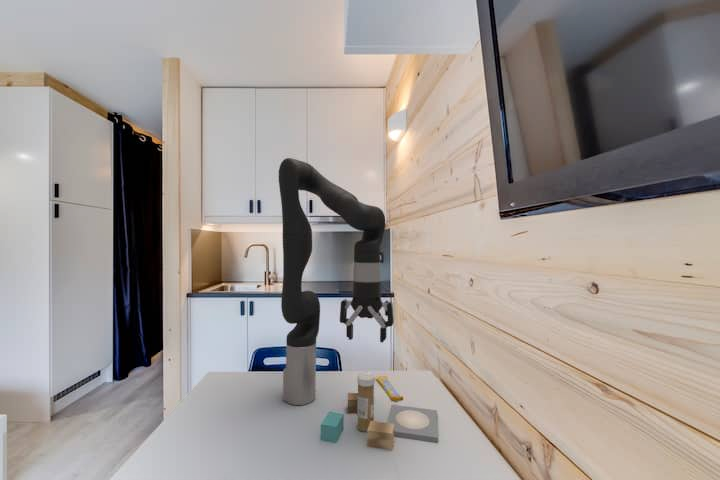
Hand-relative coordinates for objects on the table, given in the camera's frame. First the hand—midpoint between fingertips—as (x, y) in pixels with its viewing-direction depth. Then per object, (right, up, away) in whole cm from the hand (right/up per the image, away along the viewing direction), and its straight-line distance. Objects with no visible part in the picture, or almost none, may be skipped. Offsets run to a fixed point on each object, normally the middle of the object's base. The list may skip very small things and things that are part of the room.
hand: (366, 340), depth 81 cm
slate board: (+12, -23, +1) cm, 26 cm away
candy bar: (+8, -24, +21) cm, 33 cm away
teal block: (-9, -23, -4) cm, 25 cm away
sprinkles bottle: (0, -23, -1) cm, 23 cm away
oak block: (+3, -23, -7) cm, 24 cm away
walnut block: (-2, -23, +8) cm, 25 cm away
